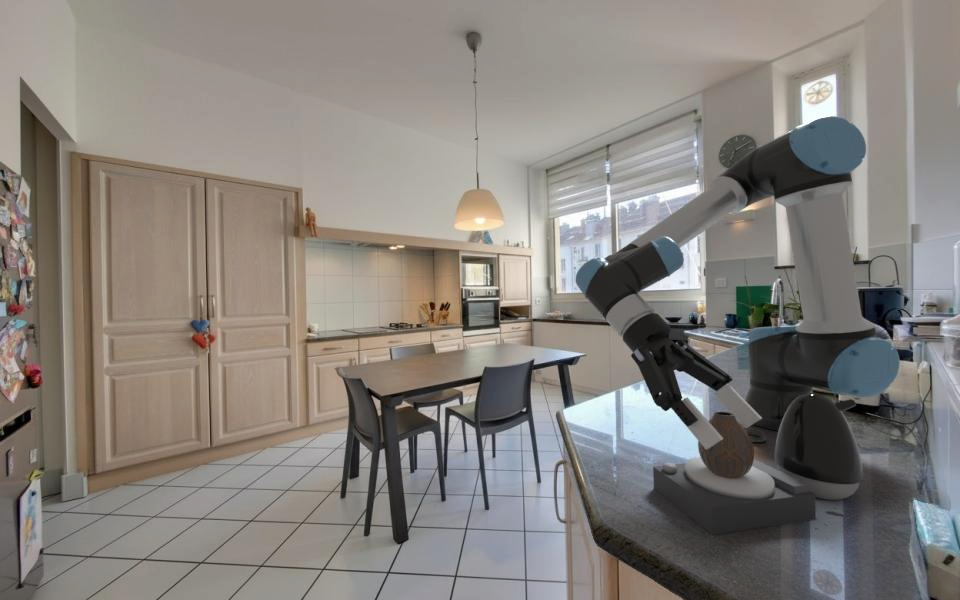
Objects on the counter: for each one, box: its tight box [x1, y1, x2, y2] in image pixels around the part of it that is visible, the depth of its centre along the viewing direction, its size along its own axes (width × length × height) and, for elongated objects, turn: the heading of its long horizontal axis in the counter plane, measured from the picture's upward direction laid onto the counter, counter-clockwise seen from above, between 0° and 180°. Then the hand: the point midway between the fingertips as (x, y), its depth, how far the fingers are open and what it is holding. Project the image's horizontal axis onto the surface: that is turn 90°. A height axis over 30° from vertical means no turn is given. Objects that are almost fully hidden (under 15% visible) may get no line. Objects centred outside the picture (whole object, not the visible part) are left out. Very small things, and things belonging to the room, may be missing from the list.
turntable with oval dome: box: [652, 456, 817, 536], centre depth 55 cm, size 16×12×4 cm
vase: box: [697, 410, 755, 479], centre depth 55 cm, size 7×7×9 cm
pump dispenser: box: [773, 392, 864, 501], centre depth 58 cm, size 10×10×15 cm
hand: (736, 433), depth 54 cm, fingers open, 13 cm apart
